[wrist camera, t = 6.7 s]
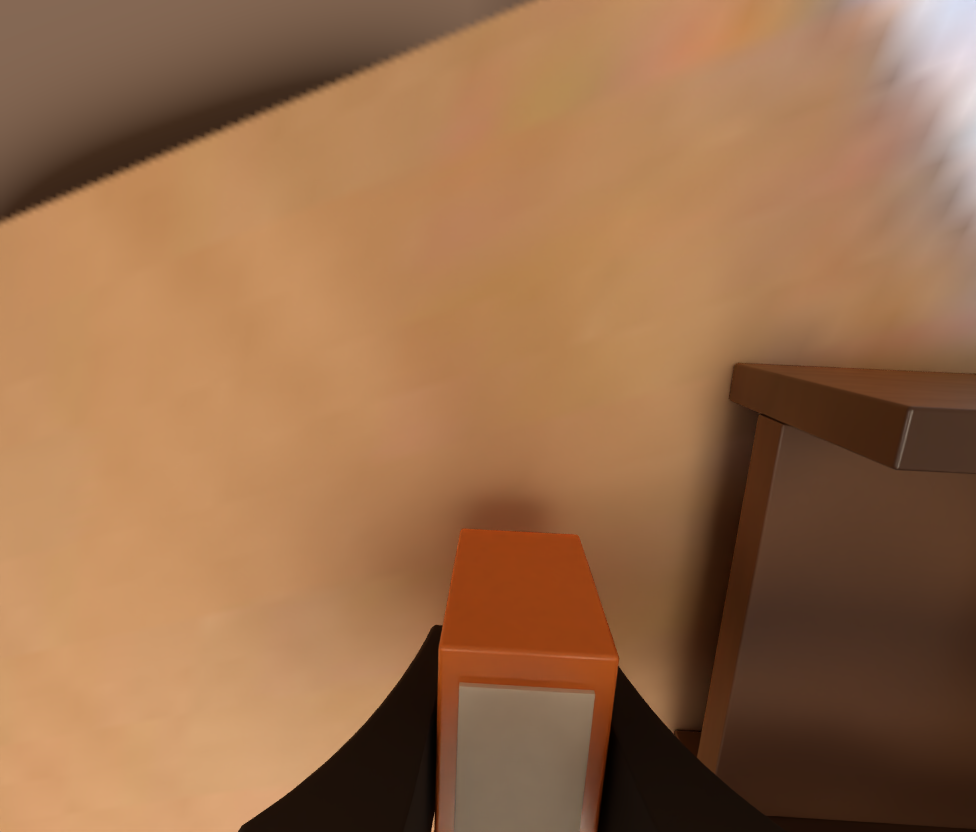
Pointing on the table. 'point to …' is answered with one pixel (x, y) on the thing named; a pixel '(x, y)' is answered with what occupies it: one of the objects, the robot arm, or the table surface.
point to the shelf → (851, 604)
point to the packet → (522, 687)
